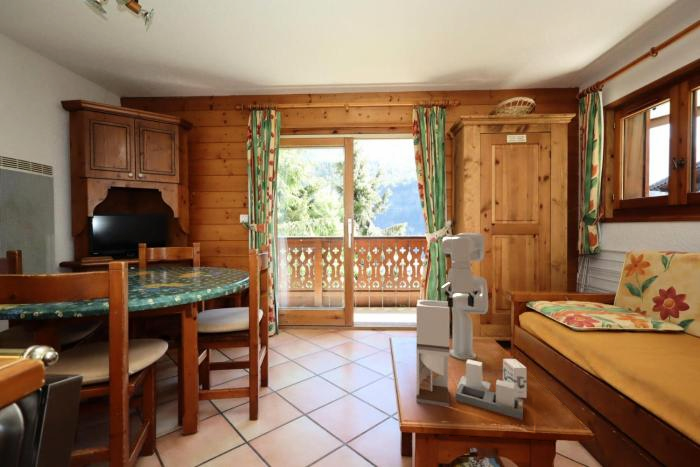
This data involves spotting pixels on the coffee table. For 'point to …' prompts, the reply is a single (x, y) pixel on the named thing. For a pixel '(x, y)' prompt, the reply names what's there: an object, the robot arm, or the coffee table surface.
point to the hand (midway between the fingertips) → (460, 306)
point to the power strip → (488, 401)
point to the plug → (474, 373)
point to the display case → (432, 352)
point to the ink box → (516, 376)
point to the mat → (484, 384)
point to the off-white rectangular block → (505, 393)
